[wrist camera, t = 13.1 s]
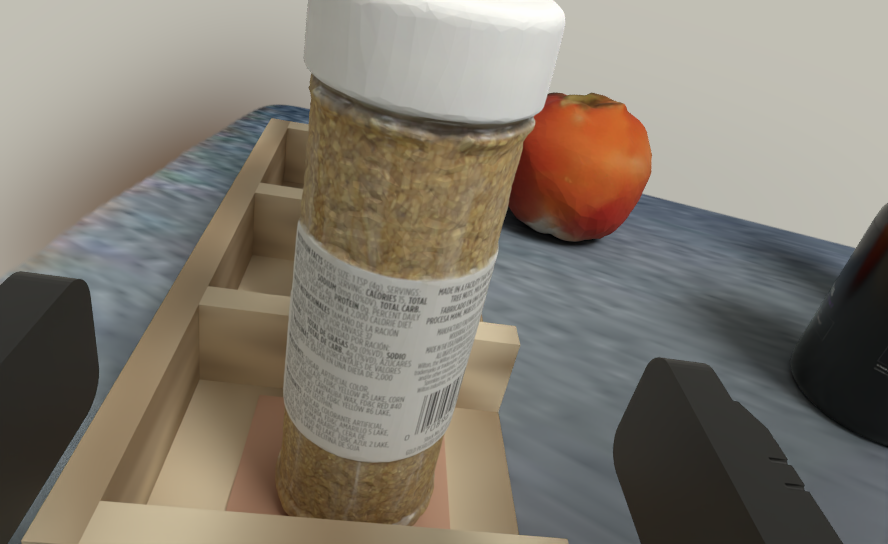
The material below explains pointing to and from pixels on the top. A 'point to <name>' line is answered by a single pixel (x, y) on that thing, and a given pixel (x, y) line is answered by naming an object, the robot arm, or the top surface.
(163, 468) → the rail rack
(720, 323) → the top surface
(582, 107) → the tomato
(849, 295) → the supplement bottle
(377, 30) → the spice jar
